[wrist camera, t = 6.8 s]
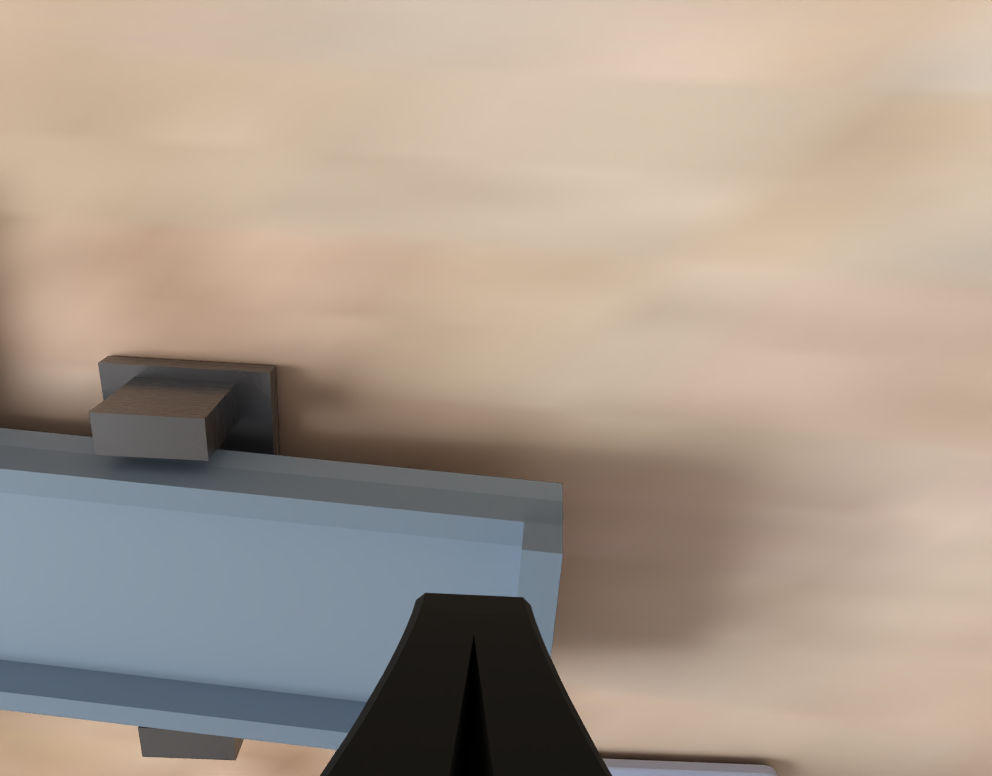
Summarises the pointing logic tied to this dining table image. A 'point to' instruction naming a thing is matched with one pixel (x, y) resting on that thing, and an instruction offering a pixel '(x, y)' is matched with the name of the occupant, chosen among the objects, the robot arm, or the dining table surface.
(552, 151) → the dining table surface
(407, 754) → the robot arm
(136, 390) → the stand
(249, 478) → the blue-grey piece
